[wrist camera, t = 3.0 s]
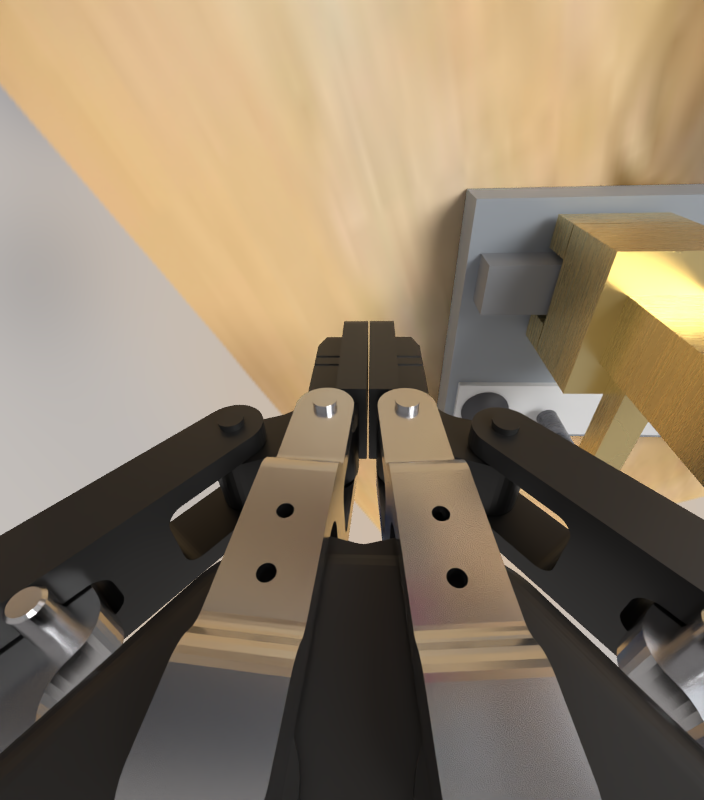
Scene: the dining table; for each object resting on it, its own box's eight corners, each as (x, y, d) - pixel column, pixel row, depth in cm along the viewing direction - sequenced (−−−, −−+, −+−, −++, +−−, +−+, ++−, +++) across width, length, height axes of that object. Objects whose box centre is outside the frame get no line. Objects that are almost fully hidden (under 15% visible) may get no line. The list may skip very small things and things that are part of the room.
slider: (558, 214, 14) (862, 408, 5) (670, 212, 14) (1178, 411, 5) (501, 418, 21) (602, 669, 12) (579, 419, 20) (743, 675, 11)
